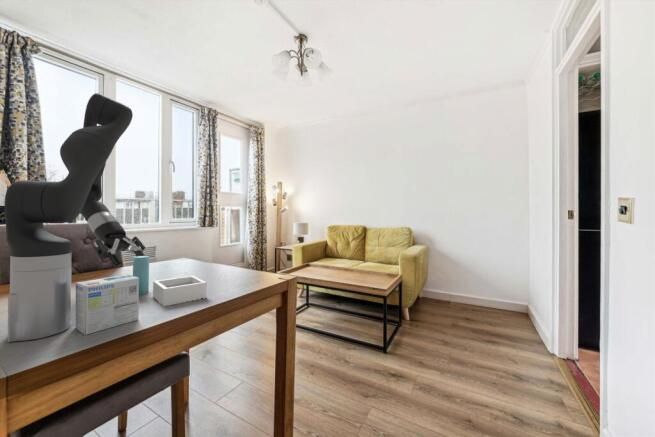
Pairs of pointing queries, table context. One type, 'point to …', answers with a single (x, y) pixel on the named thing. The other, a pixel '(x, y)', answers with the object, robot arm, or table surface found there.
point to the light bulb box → (106, 303)
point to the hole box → (179, 290)
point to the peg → (142, 272)
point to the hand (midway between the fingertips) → (132, 263)
